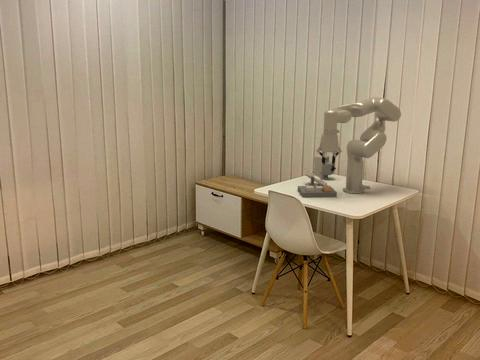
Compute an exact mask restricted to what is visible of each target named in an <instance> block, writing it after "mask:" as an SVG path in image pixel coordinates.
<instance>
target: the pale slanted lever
mask: <svg viewBox="0 0 480 360" xmlns="http://www.w3.org/2000/svg"><path fill="white" fill-rule="evenodd" d="M305 176H306V177H307V178H309V179H311V176H313V177H314V183H315V182H316V183H317V184H318V185H319V186H328V185H327V184H328V183H327V182H326V181H324V180H321V179H320V178H319V177H317V176H315V175H313V172H310V171H307V172H306V173H305Z"/></svg>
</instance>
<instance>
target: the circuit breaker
mask: <svg viewBox="0 0 480 360" xmlns="http://www.w3.org/2000/svg"><path fill="white" fill-rule="evenodd" d="M312 159H313V162H312V163H314V167H313V171H312V174H313V175H315V176H317V177H319V178H320V179H321V180H323V181H324V180H326V178H327V179H328V178H329V176H331V175H334V174H335V170H337V168H336V161H335V162H334V164H332V161H330V156H329V155H325V164H323V163H322V156H321V155H320V154H318V155H315V156H313V158H312Z"/></svg>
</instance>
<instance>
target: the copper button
mask: <svg viewBox="0 0 480 360" xmlns="http://www.w3.org/2000/svg"><path fill="white" fill-rule="evenodd" d="M321 186H322V185H321ZM332 188H333V187H332V186H331V185H326V186H322V191H323V192H331V190H332Z"/></svg>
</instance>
